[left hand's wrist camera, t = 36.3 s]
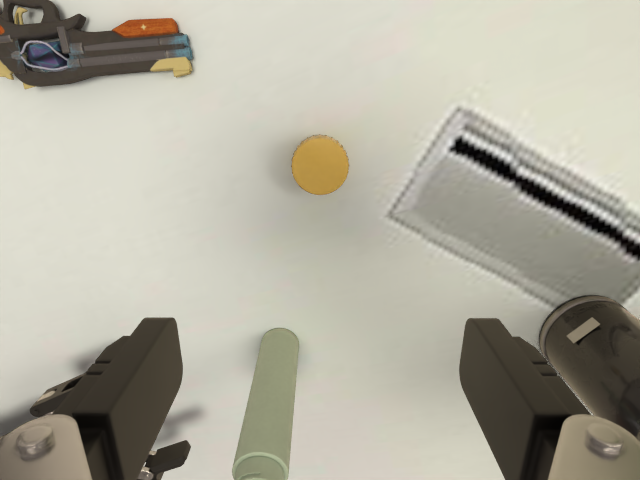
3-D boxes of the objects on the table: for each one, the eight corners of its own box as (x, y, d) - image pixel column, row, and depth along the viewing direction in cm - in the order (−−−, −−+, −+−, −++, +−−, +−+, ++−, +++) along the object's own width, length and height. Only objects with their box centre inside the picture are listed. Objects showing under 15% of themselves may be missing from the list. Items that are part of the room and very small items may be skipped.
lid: (354, 178, 39) (356, 184, 37) (304, 196, 39) (303, 203, 37) (337, 126, 37) (338, 128, 35) (284, 145, 38) (282, 149, 35)
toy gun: (-93, -49, 30) (-51, 94, 32) (167, -70, 31) (190, 72, 33) (-62, -34, 33) (-25, 98, 35) (178, -53, 33) (198, 77, 36)
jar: (305, 350, 45) (297, 509, 28) (273, 365, 46) (246, 528, 29) (287, 322, 44) (266, 470, 27) (254, 337, 45) (214, 491, 28)
